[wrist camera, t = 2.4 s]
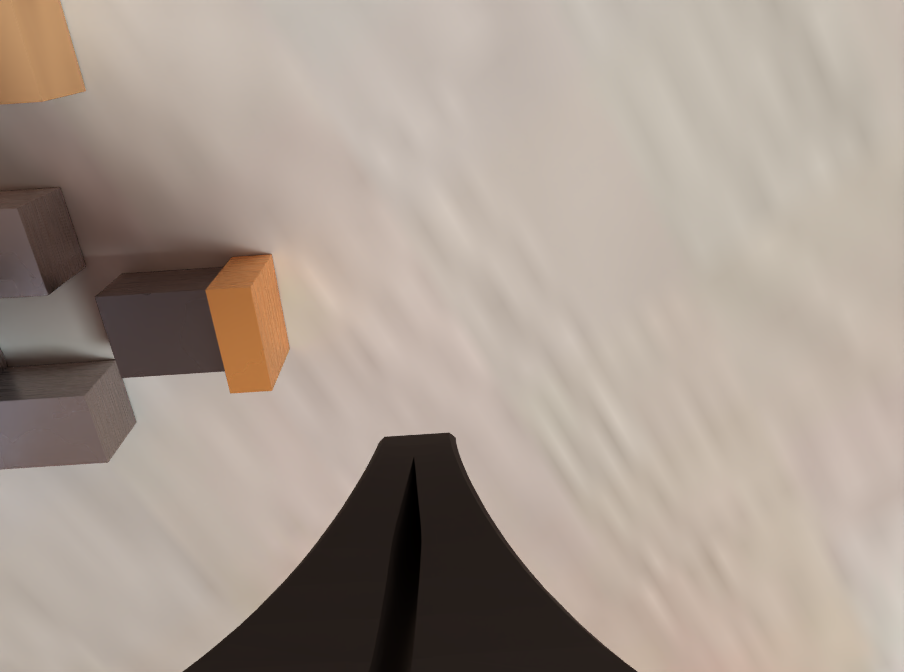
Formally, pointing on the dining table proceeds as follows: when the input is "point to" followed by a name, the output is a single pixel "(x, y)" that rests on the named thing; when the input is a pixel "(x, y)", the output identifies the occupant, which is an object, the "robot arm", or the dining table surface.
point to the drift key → (199, 323)
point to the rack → (36, 53)
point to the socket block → (55, 385)
